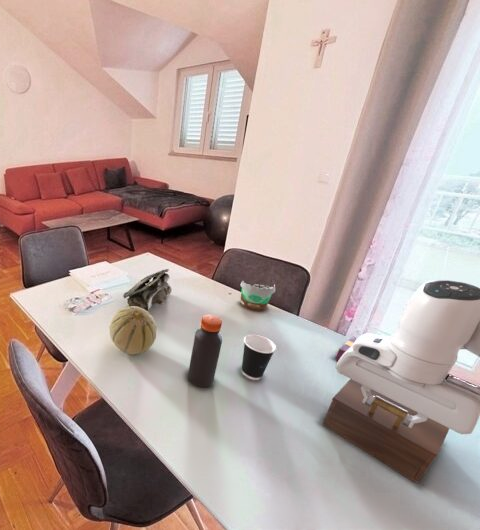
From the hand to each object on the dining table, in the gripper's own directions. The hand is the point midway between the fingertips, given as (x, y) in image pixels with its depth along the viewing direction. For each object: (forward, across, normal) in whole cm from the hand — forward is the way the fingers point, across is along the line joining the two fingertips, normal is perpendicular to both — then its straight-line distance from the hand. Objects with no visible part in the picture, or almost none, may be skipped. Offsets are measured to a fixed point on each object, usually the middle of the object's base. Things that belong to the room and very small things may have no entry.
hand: (386, 413), depth 65 cm
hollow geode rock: (+11, +73, -5) cm, 74 cm away
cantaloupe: (+11, +55, +20) cm, 60 cm away
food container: (+11, +46, -37) cm, 60 cm away
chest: (+11, 0, -7) cm, 13 cm away
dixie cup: (+11, +27, -1) cm, 29 cm away
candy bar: (+11, +14, -34) cm, 38 cm away
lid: (+2, 0, -7) cm, 7 cm away
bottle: (+11, +34, +13) cm, 38 cm away
